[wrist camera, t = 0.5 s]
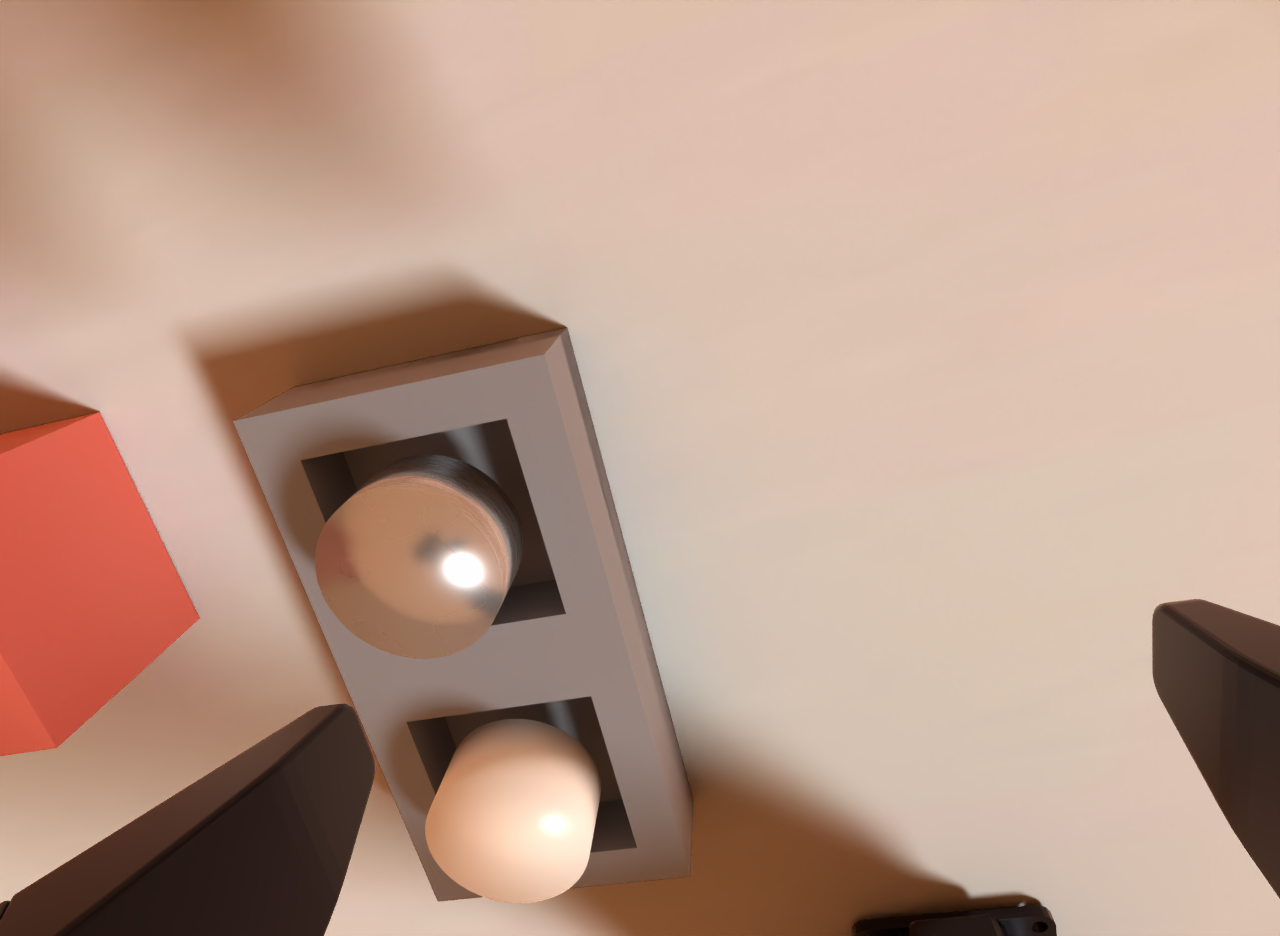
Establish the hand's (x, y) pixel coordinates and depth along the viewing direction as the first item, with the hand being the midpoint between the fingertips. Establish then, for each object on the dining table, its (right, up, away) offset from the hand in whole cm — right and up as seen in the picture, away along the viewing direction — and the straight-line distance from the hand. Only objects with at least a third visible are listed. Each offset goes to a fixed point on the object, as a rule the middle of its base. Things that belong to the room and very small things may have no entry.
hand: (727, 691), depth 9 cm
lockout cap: (-19, 0, +16) cm, 25 cm away
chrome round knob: (-6, +1, +12) cm, 13 cm away
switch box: (-5, -2, +16) cm, 16 cm away
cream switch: (-4, -7, +14) cm, 16 cm away
